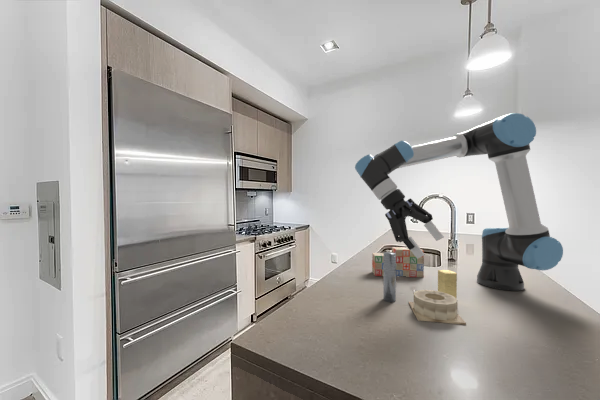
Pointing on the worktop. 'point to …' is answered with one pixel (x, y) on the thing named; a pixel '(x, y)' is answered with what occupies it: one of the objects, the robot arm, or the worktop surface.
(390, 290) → the cylinder
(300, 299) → the worktop surface
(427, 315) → the socket block
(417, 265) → the stack of blocks
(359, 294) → the worktop surface
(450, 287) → the square bit
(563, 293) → the worktop surface
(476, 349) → the worktop surface
